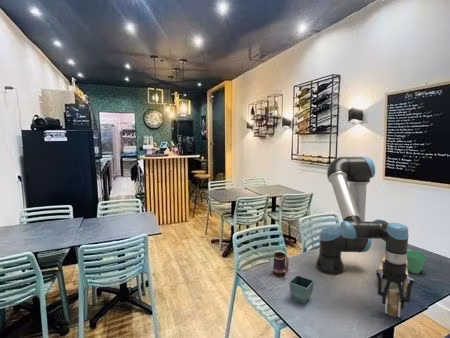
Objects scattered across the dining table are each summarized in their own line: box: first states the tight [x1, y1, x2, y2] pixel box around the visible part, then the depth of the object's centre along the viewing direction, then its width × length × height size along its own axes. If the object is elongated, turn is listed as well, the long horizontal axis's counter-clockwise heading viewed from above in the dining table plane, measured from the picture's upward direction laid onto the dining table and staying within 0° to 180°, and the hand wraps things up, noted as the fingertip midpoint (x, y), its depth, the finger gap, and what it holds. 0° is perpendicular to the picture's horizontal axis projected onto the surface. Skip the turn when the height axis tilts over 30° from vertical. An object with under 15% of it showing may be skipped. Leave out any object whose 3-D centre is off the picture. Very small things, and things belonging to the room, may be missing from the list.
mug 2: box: [407, 248, 427, 275], centre depth 151 cm, size 15×10×10 cm
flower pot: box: [288, 274, 315, 304], centre depth 124 cm, size 9×9×9 cm
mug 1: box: [272, 251, 290, 278], centre depth 146 cm, size 10×7×12 cm
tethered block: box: [386, 282, 403, 318], centre depth 122 cm, size 6×25×10 cm, turn 146°
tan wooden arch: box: [379, 253, 409, 293], centre depth 139 cm, size 12×19×10 cm, turn 147°
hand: (392, 313), depth 113 cm, fingers closed on tethered block, 4 cm apart
